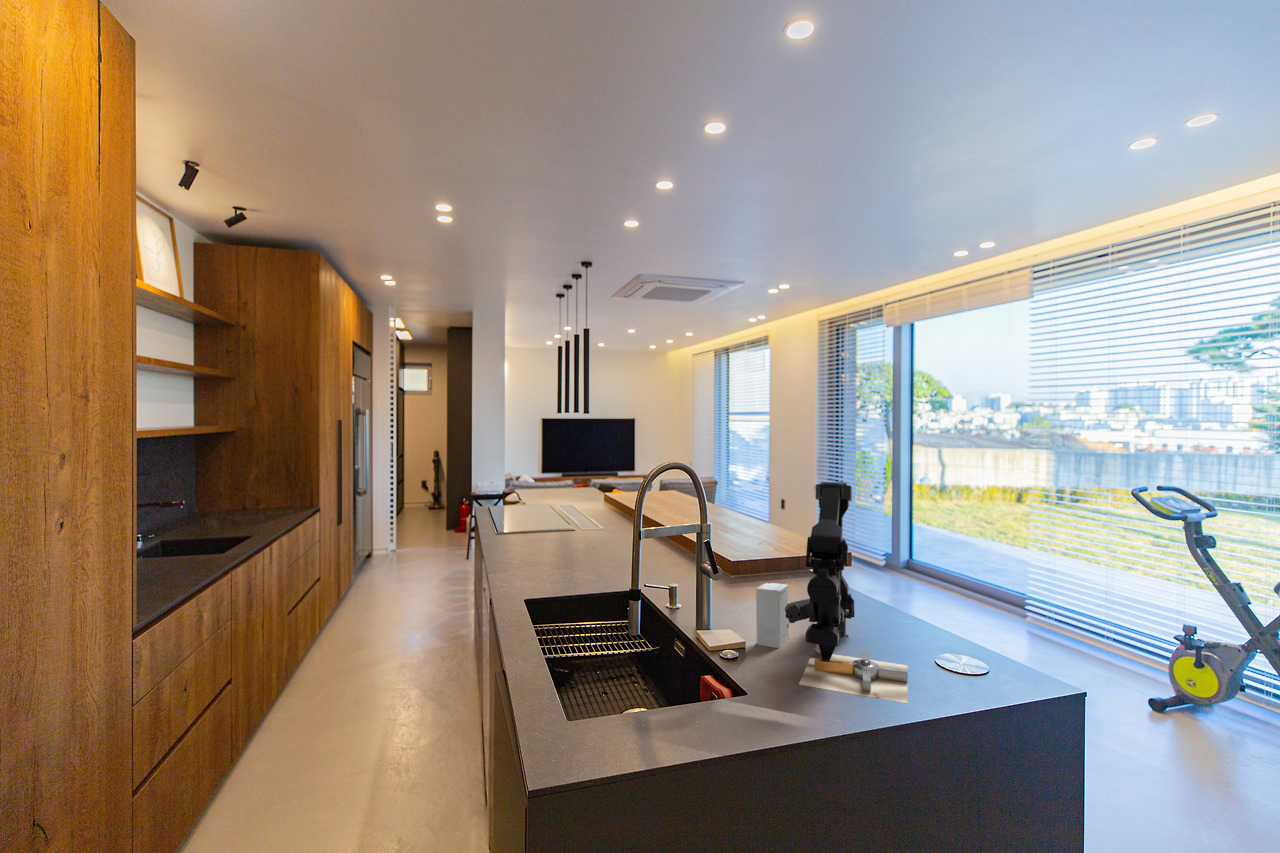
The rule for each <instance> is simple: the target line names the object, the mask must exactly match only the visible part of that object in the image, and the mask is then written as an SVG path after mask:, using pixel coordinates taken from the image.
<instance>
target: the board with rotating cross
mask: <svg viewBox="0 0 1280 853" xmlns="http://www.w3.org/2000/svg"><path fill="white" fill-rule="evenodd" d="M815 658H817V659H822V656H821V652H820V648H819V644H815V647H812V649H811V652H810V658H809V660H808V662H807V664H806V667H805V669H804V671H803V673H802V675H801V678H800V681H799V683H798V685H799V686H804V687H812V688H817V689H822V690H828V691H834V692H840V693H845V694H851V695H856V696H860V697H861V696H862V697H868V698H874V699H877V700H879V699H880V700H886V701H890V702H897V703H903V704H908V682H904V681H897V680H889V679H881V678H878V680H876V681H871V691H864V690H863V682H862V680H860V679H857V678H855V677H854V676H853V675H850V674H842V673H834V672H827V671H819V670H814V660H815ZM830 660H834V661H842V662H850V663H853V661H855V660H861V657H854V656H847V655H841V654H834V653H833V654H832V656H831V659H830ZM868 660H869V661H872V662H875V663H877V664H878V666H883V667H891V668H899V669H907V671H908V672H909V670H908V668H909V667H908V665H906V664H900V663H894V662H887V661H881V660H874V659H868Z"/></svg>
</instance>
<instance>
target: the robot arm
mask: <svg viewBox="0 0 1280 853" xmlns="http://www.w3.org/2000/svg"><path fill="white" fill-rule="evenodd" d="M852 490H853V489H852V485H848V484H847V482H843V481H842V482H840V481H838V482H837V481H834V482H833V481H821V482H820V483H817V484H815V497H814V498H815V500H818V508H819V516H818V522H817V523H816V524H815V525H813V526H812V528H811V532H810V536H807V542H806V556H805V568H812V574H811V576H810V578H809V581H808V584H807V587H806V589H807V590H806V591H807V595H808V597H809V598H806V599H801V600H797V601H793V602H788V604H787V605H786V607H785V612H786V615H785V616H786V618H788V620H789V624H794V623H796V622H799V621H803V620H808V622H809V623H811V624H810V625H808V627H807V629H806V631H805V642H806V643H808V644H813V645H814V644H815V645H817V644H819V648H820V652H821V656H822V659H826V660H830V659H831V656H832V654H834V651H835V649H836V647H838V646H839V641H840V638H846V639H849V637H850V636H849V634H847V619H849V620H851V619H852V618H855V600H854V598H853V597H852V593H849V588H850V586H849V584H848V581H847V580H846V579H845V578H844V575H843V571H844V570H845V566H848V555H849V550H848V549H849V544H848V543H847V540H846V539H845V538H843V517H844V515H845V514H846V512H847V511H848V509H849V507H850V502H852V500H853V499H852V498H853V495H852V494H853V491H852Z"/></svg>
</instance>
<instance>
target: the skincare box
mask: <svg viewBox="0 0 1280 853" xmlns="http://www.w3.org/2000/svg"><path fill="white" fill-rule="evenodd" d="M755 591H756V592H755V593H756V594H755V595H756V598H755V600H756V601H755V603H756V606H755V607H756V608H755V609H756V616H755V617H756V619H755V620H756V624H755V625H756V645H758V646H759V645H760V646H765V647H770V648H775V649H781V647H783V645H784V644H786V642H787V641H788V640H789V638H790V633H789V632H790V630H789V629H790V628H789V626H790V623H789V620H788V618H786V616H785V615H786V612H785V607H786V605H787V604H789V584H786V583H785V584H784V583H775V582H765V583H764V584H761V585H760V586H758V587H757V588H756V590H755Z"/></svg>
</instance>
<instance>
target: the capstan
mask: <svg viewBox="0 0 1280 853" xmlns="http://www.w3.org/2000/svg"><path fill="white" fill-rule="evenodd" d="M868 654H869V653H868V652H865V651H860V658H861V660H855V661H853V663H850V662H842V661H834V660H826V659H817V658H815V660H814V670H819V671H827V672H834V673H842V674H850V675H853V676H854V677H855V678H857V679H860V680H862V682H863V690H864V691H871V681H876V680H878V678H881V679H889V680H897V681H904V682H907V683H908V681H909V680H908V678H909V677H908V676H909V675H908V672H909V670H908V671H907V669H899V668H891V667H883V666H878V664H877V663H875V662H872V661H869V660H870V659H869V655H868Z"/></svg>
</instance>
